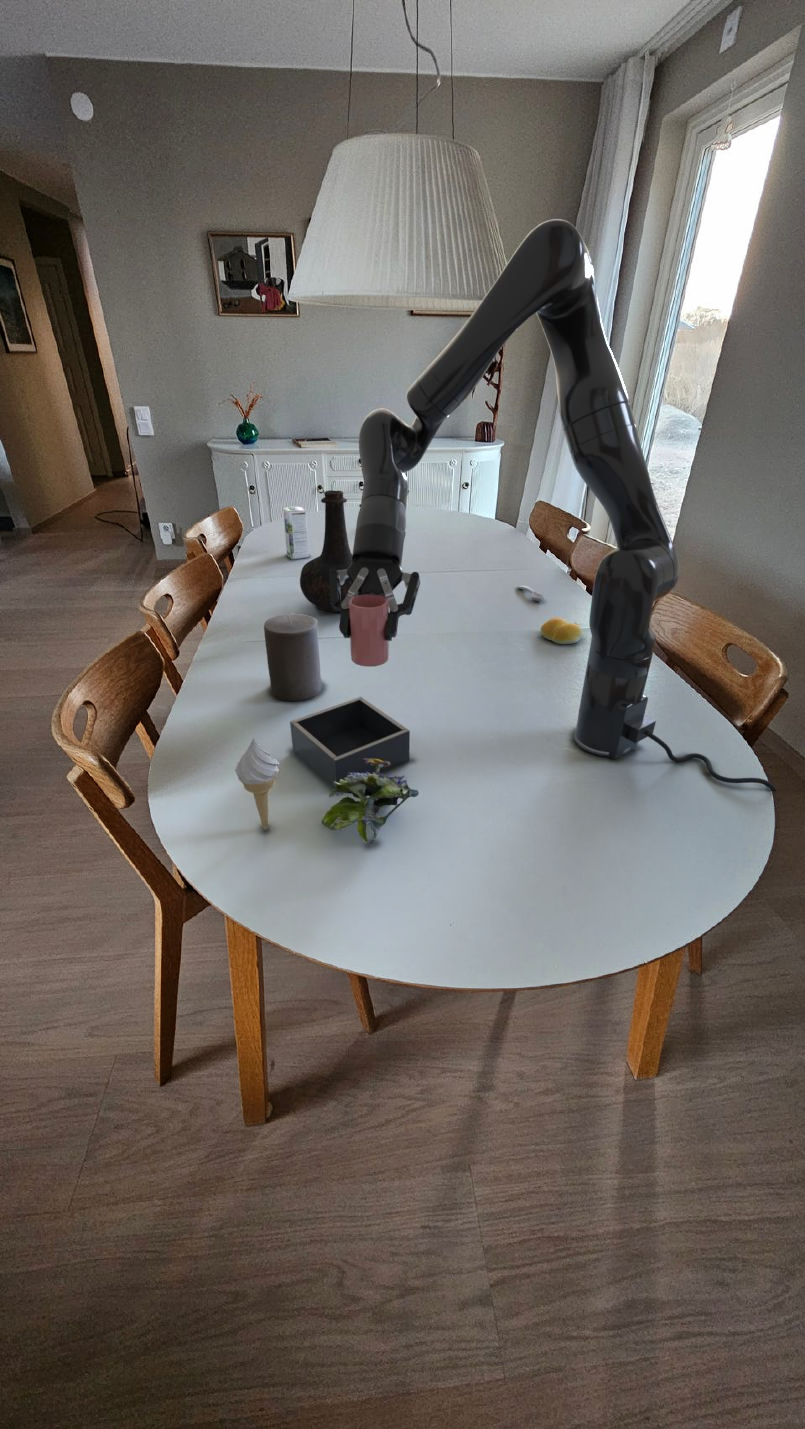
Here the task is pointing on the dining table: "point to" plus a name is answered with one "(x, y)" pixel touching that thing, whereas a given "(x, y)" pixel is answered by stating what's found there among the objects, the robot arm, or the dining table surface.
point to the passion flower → (366, 799)
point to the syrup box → (296, 532)
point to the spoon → (534, 595)
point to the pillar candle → (293, 656)
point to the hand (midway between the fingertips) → (367, 637)
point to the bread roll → (561, 631)
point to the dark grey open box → (349, 740)
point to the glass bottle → (328, 555)
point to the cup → (368, 629)
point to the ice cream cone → (258, 776)
